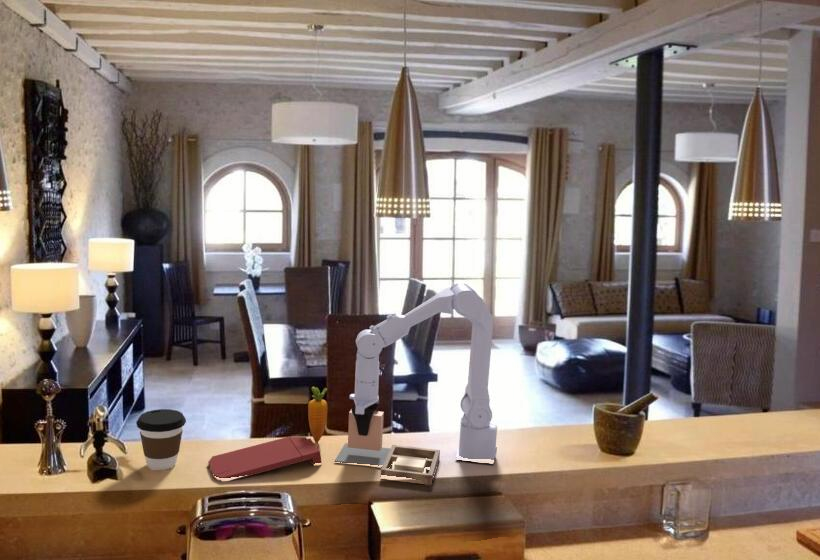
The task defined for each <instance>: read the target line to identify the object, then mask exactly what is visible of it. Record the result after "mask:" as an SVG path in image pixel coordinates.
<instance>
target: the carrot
mask: <svg viewBox="0 0 820 560" xmlns="http://www.w3.org/2000/svg"><path fill="white" fill-rule="evenodd" d="M311 391H312V393H313V395H312V394H311V397H312V398H313V399H312V400H309V402H308V404H307V405H308V406H307V407H308V408H307V409H308V410H307V411H308V413H307V414H308V425H309V429H310V430H309V431H310V433H311V437H312V438H313V440H314V442H315V443H319V442H320V440H321V438H322V437H323V434H324V432H325V428H326V425H327V417H328V403H327V401H326V400H325V399H323V398H324V397H325V395H326V394H325V393H326V392H327V391H328V388H326V387H324V388H323V390H322V392H320V389H319V388H318V387H315V386H312V387H311Z"/></svg>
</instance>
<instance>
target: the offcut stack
mask: <svg viewBox="0 0 820 560" xmlns="http://www.w3.org/2000/svg"><path fill="white" fill-rule="evenodd" d="M425 466H426V460H419V459H410V458H402V457H398V458H397V460H396V462H393V465H392V466H391V469H397V470H405V471H414V472H422V473H423V472H424V468H425Z"/></svg>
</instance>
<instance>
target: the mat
mask: <svg viewBox="0 0 820 560" xmlns="http://www.w3.org/2000/svg"><path fill="white" fill-rule="evenodd" d="M390 449H391V447H389V448H388V447H383V446H382V447H381V449H380V451H375V450H366V449H357V448H348V442H346V443H344V444H343V446H342V448H341V450H340V451H339V452H338V454H337V456H336V457H335V459H334V462H340V463H341V462H342V463H357V464H370V465H378V466H379V465H383V464H384V462H385V460H386V457H387V455H388V453H389V451H390Z"/></svg>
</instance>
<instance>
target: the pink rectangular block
mask: <svg viewBox="0 0 820 560" xmlns="http://www.w3.org/2000/svg"><path fill="white" fill-rule="evenodd" d="M384 414H385V412H384V411H379V410H378V411H377V410H376V411H375V412H374V413H373V416H372V418H371V422H370V427H369V431H368V434H367V436H363V435H359V434H358V430H357V424H356V420H355V417H354V415H353V413H352V408H351V409H350V410H349V412H348V431H347V444H348V448H357V449H366V450H375V451H380V449H381V447H382V448H383V435H384V433H383V432H384V431H383V430H384V417H385V415H384Z"/></svg>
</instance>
